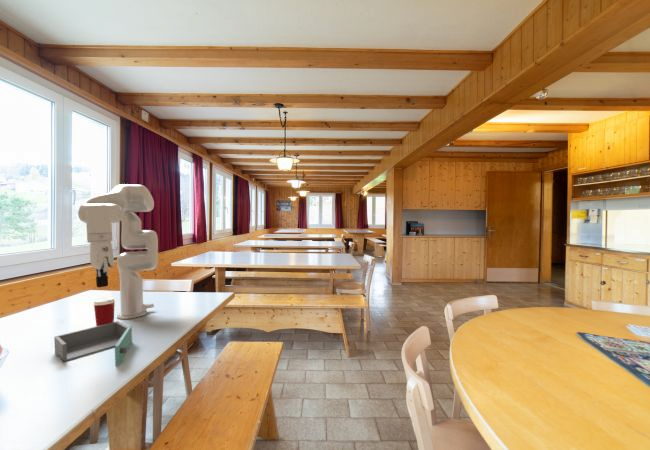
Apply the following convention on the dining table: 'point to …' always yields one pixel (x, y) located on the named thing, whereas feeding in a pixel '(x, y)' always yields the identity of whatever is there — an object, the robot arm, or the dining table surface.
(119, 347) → the green drawer with knob
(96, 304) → the paper cup
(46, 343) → the dining table surface
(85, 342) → the case
